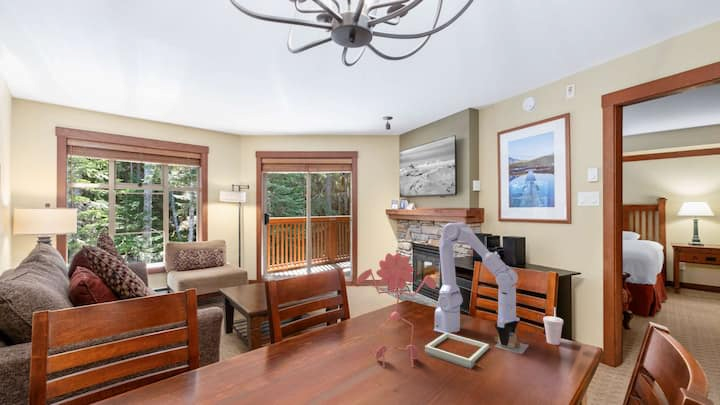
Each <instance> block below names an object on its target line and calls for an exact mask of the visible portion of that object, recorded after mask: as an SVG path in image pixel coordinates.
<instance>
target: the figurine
mask: <svg viewBox="0 0 720 405" xmlns="http://www.w3.org/2000/svg"><path fill="white" fill-rule="evenodd" d="M410 262H411V257H410V256H402V254H401V252H397V253H395V254H394V255H392V254H391V253H390V252H387V254H386V255H385V258H384V260H383V259H381V260H379V262H378V265H379V268H380V269H378V270H376V275H377V276H378V278H381V279H380V282H379V283H380V285H382V286H387V285H388V289H389V290H383V291H379V287H378V285H377V282H376V280H375V277H374V275H373V272H372V269H371V268H369V269H366V270H364V271H363V272H362V273H360V274H359V276H358V277H357V279H356V284H357V285H359V284H361V283H362V282H364V281H366V280H367V279H368V278H369V277H371V279H372V281H373V283H374V287H375V289H376V292H377V294H386V293H393V292H394V293H395V294H396V295H397V298H396V299H397V300H396V304H395V309H394V312H392V313H391V315H390V318H388V319H387V320H386V321H385V322H384V323H383V324H382V325H380V328H379V330H380V339H381V340H380V341H381V346H380V347H379V348H378V349H377V348H375V349H373V350H372V351H370V353H371V352H375V351H376V352H375V354H374V356H375V359H376V360H379V359H380V358H381V357H382V368H386V365H385V364H386V363H385V361H386V360H385V353H386V351H387V349H392V346H391V347H390V346H389V347H388V346H387V345H385V344H384V342H383V333H382V332H383V330H382V327H383V326H384V325H385V324H387V323H388V322H389V321H390V320H391V319H392V320H393V321H399V319H400V320H402V321H404V322H406V323H407V324H410V325H411V326H412V327H411V337H410V339H411V340H410V344H408V345H406V348H405V351H406V354H407V355H408V356H410V360H411V367H412V368H413V367H414V359H415V358H416V357H417V356H418V355H419V350H418V347H416V346H415V345H414V344H413V338H414V335H413V334H414V324H413V323H411V322H409V321H408V320H406V319H404V318H402V316H400V313H399V312H397V308H398V305H399V301H400V294H402V295H406V296H408V297H413V298H414V296H416V295H417V293H418V292H419V291H420V290H421V288H422V287H423V286H424V284H425V285H426V286H427V287H428V288H430V289H432V290H435V289H436V288H437V282H436V280H435V279H434V278H433V277H431V276H429V275H428V274H427V275H426V276H424V279H423V281H422V282H421V284H420V285H418V288H417V289H416V291H415V292H414V293H413V294H412V293H408V292H404V291H401V290H404V289H405V288H406V285H407V282H408V283H412V282H413V281H414V276H413V274H412V272H414V270H415V269H414V267H413V266H412V265H411V264H409V263H410ZM398 288H399V289H400V290H398ZM399 293H400V294H399ZM383 344H384V345H383ZM400 349H401V350H404V348H401V347H399V350H400ZM367 354H369V352H366V355H367ZM413 358H414V359H413Z"/></svg>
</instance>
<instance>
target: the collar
mask: <svg viewBox="0 0 720 405" xmlns="http://www.w3.org/2000/svg"><path fill="white" fill-rule="evenodd" d="M510 333H511V334H513V336H512V337H511V336H510V337H509V342H508V345H507V346H505V345H502V344H501V342H500V338H499V334H498V333H497V336H494V342H495V343H498V344H500V345H501V346H503V347H507V348H515V347H517V348H520V343H521V341H520V342H519V341H517V334H516V333H515V334H514V333H512V332H510Z"/></svg>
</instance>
